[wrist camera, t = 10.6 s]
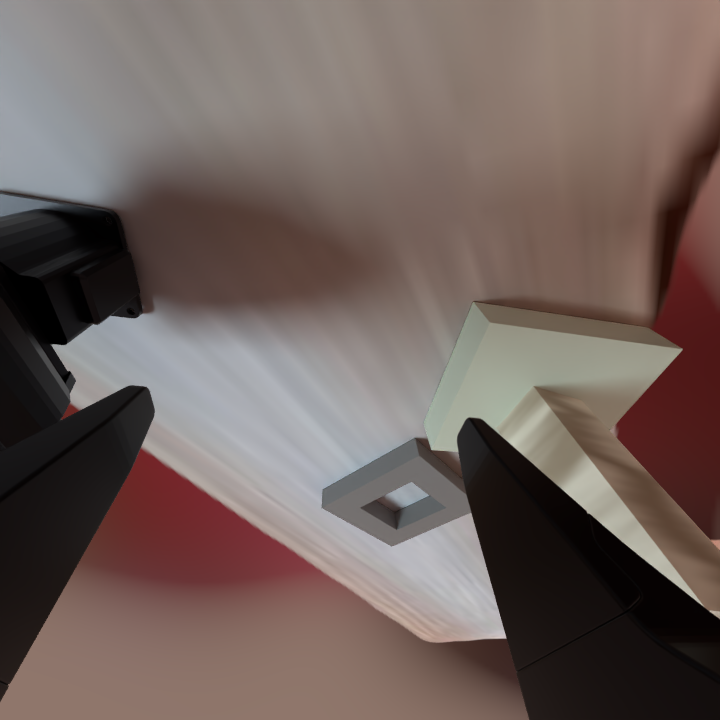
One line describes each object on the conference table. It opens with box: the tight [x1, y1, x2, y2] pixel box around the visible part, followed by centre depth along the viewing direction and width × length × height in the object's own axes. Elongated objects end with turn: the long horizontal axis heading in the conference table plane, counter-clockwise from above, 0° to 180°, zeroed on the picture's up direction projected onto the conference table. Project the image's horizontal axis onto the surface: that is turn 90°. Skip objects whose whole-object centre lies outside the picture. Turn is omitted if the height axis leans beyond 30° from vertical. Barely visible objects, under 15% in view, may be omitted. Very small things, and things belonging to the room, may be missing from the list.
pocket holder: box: [322, 438, 471, 546], centre depth 33 cm, size 12×12×2 cm
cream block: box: [497, 386, 720, 619], centre depth 19 cm, size 4×4×13 cm
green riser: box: [424, 302, 683, 452], centre depth 25 cm, size 14×12×3 cm
